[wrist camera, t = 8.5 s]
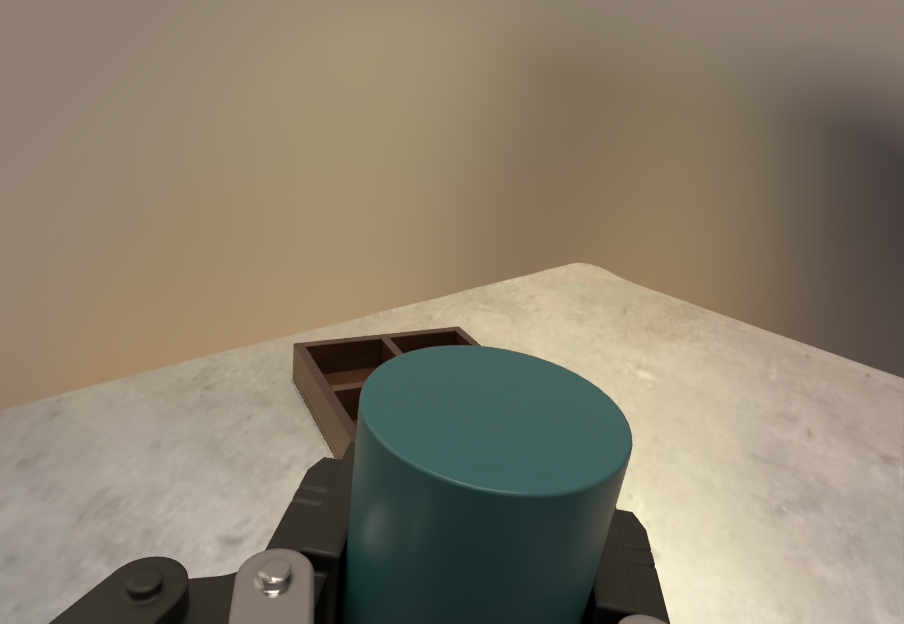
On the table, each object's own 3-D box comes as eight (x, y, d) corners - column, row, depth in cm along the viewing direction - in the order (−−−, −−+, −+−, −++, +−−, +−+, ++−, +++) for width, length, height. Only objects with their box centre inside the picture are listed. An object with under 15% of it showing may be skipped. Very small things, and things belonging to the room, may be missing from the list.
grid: (355, 495, 36) (358, 451, 34) (292, 379, 47) (293, 343, 46) (550, 450, 42) (558, 412, 41) (454, 357, 53) (459, 326, 52)
